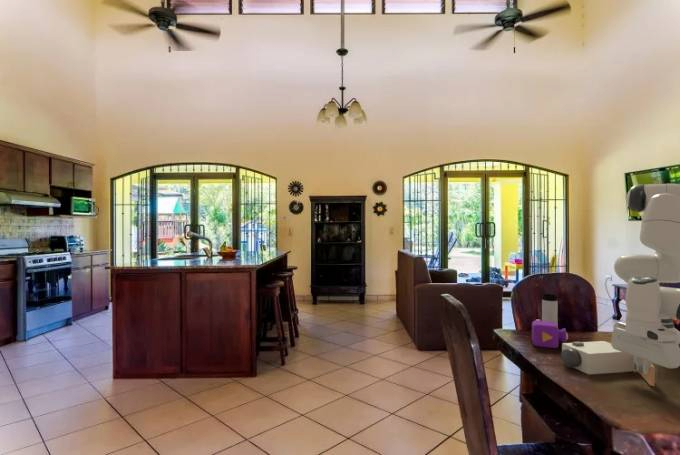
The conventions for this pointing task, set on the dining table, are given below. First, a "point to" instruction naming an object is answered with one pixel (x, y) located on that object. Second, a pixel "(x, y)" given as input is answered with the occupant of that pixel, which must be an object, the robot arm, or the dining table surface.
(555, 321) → the travel mug
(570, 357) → the white projector
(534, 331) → the toy camera
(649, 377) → the side door
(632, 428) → the dining table surface
